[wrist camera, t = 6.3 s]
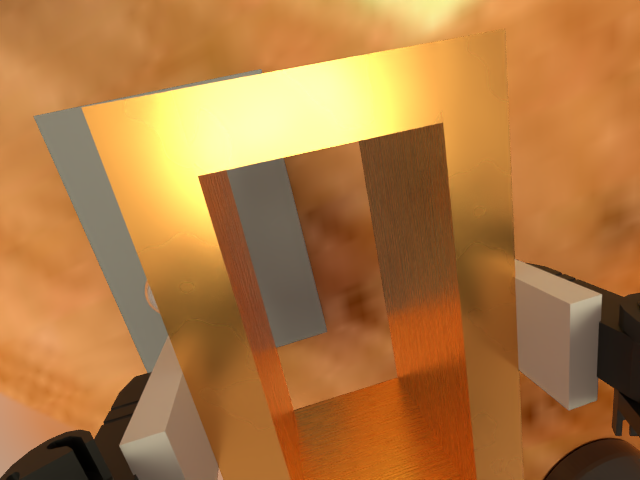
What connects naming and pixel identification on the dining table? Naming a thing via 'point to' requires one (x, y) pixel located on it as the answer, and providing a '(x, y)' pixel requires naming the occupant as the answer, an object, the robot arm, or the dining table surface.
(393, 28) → the dining table surface
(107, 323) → the dining table surface
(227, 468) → the framed display niche
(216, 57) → the dining table surface
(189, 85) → the keeper plate
